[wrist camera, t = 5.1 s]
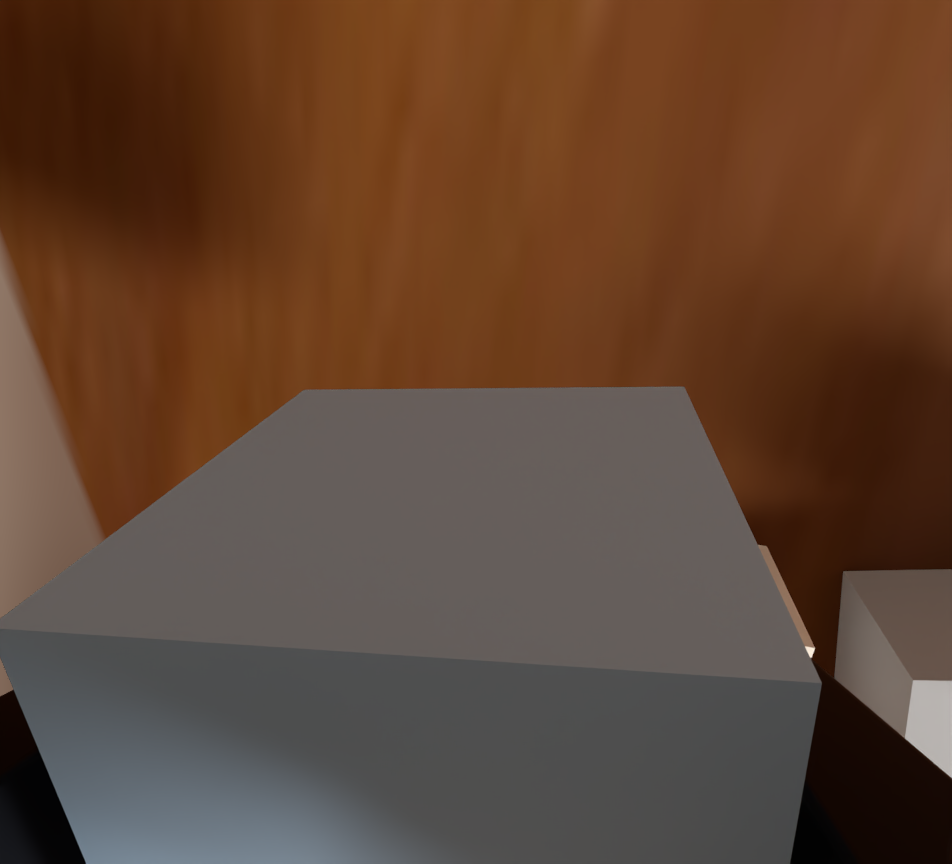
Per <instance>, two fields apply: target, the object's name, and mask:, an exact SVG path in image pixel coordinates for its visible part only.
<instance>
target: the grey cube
mask: <svg viewBox="0 0 952 864" xmlns="http://www.w3.org/2000/svg"><path fill="white" fill-rule="evenodd" d="M834 678H835V679H836V680H837V681H838V682H839V683H840V684H842V685H843V686H844V687H845V688H846V689H848V690H849V691H850V692H851V693H852V694H853V695H855V696H856V697H857V698H858V699H859V700H860V701H862V702H863V703H864V704H865V705H866V706H868V707H869V708H870V709H871V710H872V711H873V712H875V713H876V714H877V715H878V716H879V717H880V718H882V719H883V720H884V721H885V722H886V723H888V724H889V725H890V726H891V727H892V728H893V729H895V730H896V731H897V732H898V733H899V734H900V735H902V736H903V737H904V738H905V739H906V740H908V741H909V742H910V743H911V744H912V745H913V746H915V747H916V748H917V749H918V750H919V751H920V752H922V753H923V754H924V755H925V756H926V757H927V758H929V759H930V760H931V761H932V762H933V763H935V764H936V765H937V766H938V767H939V768H940V769H942V770H943V771H944V772H945V773H946V774H947V775H949V776H950V777H951V778H952V569H931V570H877V571H843V580H842V592H841V604H840V615H839V627H838V639H837V651H836V663H835V675H834Z"/></svg>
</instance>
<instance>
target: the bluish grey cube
mask: <svg viewBox="0 0 952 864" xmlns="http://www.w3.org/2000/svg"><path fill="white" fill-rule="evenodd" d="M0 658H1V660H2V663H3V665H4V668H5V670H6V673H7V675H8V677H9V680H10V682H11V684H12V687H13V689H14V692H15V694H16V696H17V699H18V701H19V704H20V706H21V708H22V711H23V713H24V716H25V718H26V720H27V723H28V725H29V728H30V730H31V732H32V735H33V737H34V740H35V742H36V744H37V747H38V749H39V752H40V754H41V756H42V759H43V761H44V764H45V766H46V768H47V771H48V773H49V776H50V778H51V780H52V783H53V785H54V788H55V790H56V792H57V795H58V797H59V799H60V802H61V804H62V807H63V809H64V811H65V814H66V816H67V819H68V821H69V823H70V826H71V828H72V831H73V833H74V835H75V838H76V840H77V843H78V845H79V847H80V850H81V852H82V855H83V857H84V859H85V862H86V864H790V860H791V855H792V849H793V843H794V838H795V832H796V827H797V821H798V815H799V810H800V804H801V798H802V793H803V787H804V781H805V776H806V770H807V764H808V759H809V753H810V748H811V742H812V736H813V731H814V725H815V719H816V714H817V708H818V702H819V697H820V691H821V685H822V682H821V680H820V678H819V676H818V674H817V671H816V669H815V667H814V665H813V663H812V661H811V659H810V656H809V654H808V652H807V650H806V648H805V646H804V644H803V641H802V639H801V637H800V635H799V633H798V631H797V628H796V626H795V624H794V622H793V620H792V618H791V616H790V613H789V611H788V609H787V607H786V605H785V603H784V600H783V598H782V596H781V594H780V592H779V590H778V588H777V585H776V583H775V581H774V579H773V577H772V575H771V573H770V570H769V568H768V566H767V564H766V562H765V560H764V557H763V555H762V553H761V551H760V549H759V547H758V545H757V542H756V540H755V538H754V536H753V534H752V532H751V529H750V527H749V525H748V523H747V521H746V519H745V517H744V514H743V512H742V510H741V508H740V506H739V504H738V502H737V499H736V497H735V495H734V493H733V491H732V489H731V486H730V484H729V482H728V480H727V478H726V476H725V474H724V471H723V469H722V467H721V465H720V463H719V461H718V458H717V456H716V454H715V452H714V450H713V448H712V446H711V443H710V441H709V439H708V437H707V435H706V433H705V431H704V428H703V426H702V424H701V422H700V420H699V418H698V415H697V413H696V411H695V409H694V407H693V405H692V403H691V400H690V398H689V396H688V394H687V392H686V390H685V387H586V388H468V389H349V390H303V391H302V392H301V393H299V394H298V395H297V396H295V397H294V398H293V399H291V400H290V401H289V402H287V403H286V404H285V405H283V406H282V407H281V408H279V409H278V410H277V411H275V412H274V413H273V414H271V415H270V416H269V417H267V418H266V419H265V420H263V421H262V422H261V423H260V424H258V425H257V426H256V427H254V428H253V429H252V430H250V431H249V432H248V433H246V434H245V435H244V436H242V437H241V438H240V439H238V440H237V441H236V442H234V443H233V444H232V445H230V446H229V447H228V448H226V449H225V450H224V451H222V452H221V453H220V454H218V455H217V456H216V457H214V458H213V459H212V460H210V461H209V462H208V463H206V464H205V465H204V466H202V467H201V468H200V469H198V470H197V471H196V472H194V473H193V474H192V475H190V476H189V477H188V478H186V479H185V480H184V481H182V482H181V483H180V484H178V485H177V486H176V487H174V488H173V489H172V490H170V491H169V492H168V493H166V494H165V495H164V496H162V497H161V498H160V499H158V500H157V501H156V502H155V503H153V504H152V505H151V506H149V507H148V508H147V509H145V510H144V511H143V512H141V513H140V514H139V515H137V516H136V517H135V518H133V519H132V520H131V521H129V522H128V523H127V524H125V525H124V526H123V527H121V528H120V529H119V530H117V531H116V532H115V533H113V534H112V535H111V536H109V537H108V538H107V539H105V540H104V541H103V542H101V543H100V544H99V545H97V546H96V547H95V548H93V549H92V550H91V551H90V552H88V553H87V554H85V555H84V556H83V557H82V558H80V559H79V560H77V561H76V562H75V563H73V564H72V565H71V566H69V567H68V568H67V569H66V570H64V571H63V572H62V573H60V574H59V575H58V576H56V577H55V578H54V579H52V580H51V581H50V582H48V583H47V584H46V585H44V586H43V587H42V588H40V589H39V590H38V591H37V592H35V593H34V594H32V595H31V596H30V597H28V598H27V599H26V600H24V601H23V602H22V603H20V604H19V605H18V606H16V607H15V608H14V609H12V610H11V611H10V612H8V613H7V614H6V615H4V616H3V617H2V618H0Z"/></svg>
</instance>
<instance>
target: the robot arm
mask: <svg viewBox="0 0 952 864" xmlns="http://www.w3.org/2000/svg"><path fill="white" fill-rule="evenodd" d="M810 659H811V658H810ZM811 661H812V663H813V665H814V667H815V669H816V671H817V674H818V676H819V678H820V680H821V682H822V685H821V691H820V697H819V702H818V708H817V714H816V719H815V725H814V731H813V736H812V742H811V748H810V753H809V759H808V764H807V770H806V776H805V781H804V787H803V793H802V798H801V804H800V810H799V815H798V821H797V827H796V832H795V838H794V843H793V849H792V855H791V860H790V864H952V778H951V777H950V776H949V775H947V774H946V773H945V772H944V771H943V770H942V769H940V768H939V767H938V766H937V765H936V764H935V763H933V762H932V761H931V760H930V759H929V758H927V757H926V756H925V755H924V754H923V753H922V752H920V751H919V750H918V749H917V748H916V747H915V746H913V745H912V744H911V743H910V742H909V741H908V740H906V739H905V738H904V737H903V736H902V735H900V734H899V733H898V732H897V731H896V730H895V729H893V728H892V727H891V726H890V725H889V724H888V723H886V722H885V721H884V720H883V719H882V718H880V717H879V716H878V715H877V714H876V713H875V712H873V711H872V710H871V709H870V708H869V707H868V706H866V705H865V704H864V703H863V702H862V701H860V700H859V699H858V698H857V697H856V696H855V695H853V694H852V693H851V692H850V691H849V690H848V689H846V688H845V687H844V686H843V685H842V684H840V683H839V682H838V681H837V680H836V679H835V678H833V677H832V676H831V675H830V674H829V673H828V672H826V671H825V670H824V669H823V668H822V667H820V666H819V665H818V664H817V663H816V662H815V661H813V660H812V659H811ZM0 864H86V862H85V859H84V857H83V855H82V852H81V850H80V847H79V845H78V843H77V840H76V838H75V835H74V833H73V831H72V828H71V826H70V823H69V821H68V819H67V816H66V814H65V811H64V809H63V807H62V804H61V802H60V799H59V797H58V795H57V792H56V790H55V788H54V785H53V783H52V780H51V778H50V776H49V773H48V771H47V768H46V766H45V764H44V761H43V759H42V756H41V754H40V752H39V749H38V747H37V744H36V742H35V740H34V737H33V735H32V732H31V730H30V728H29V725H28V723H27V720H26V718H25V716H24V713H23V711H22V708H21V706H20V704H19V701H18V699H17V696H16V694H15V692H14V690H12V691H10V692H8V693H6V694H4V695H2V696H0Z"/></svg>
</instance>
